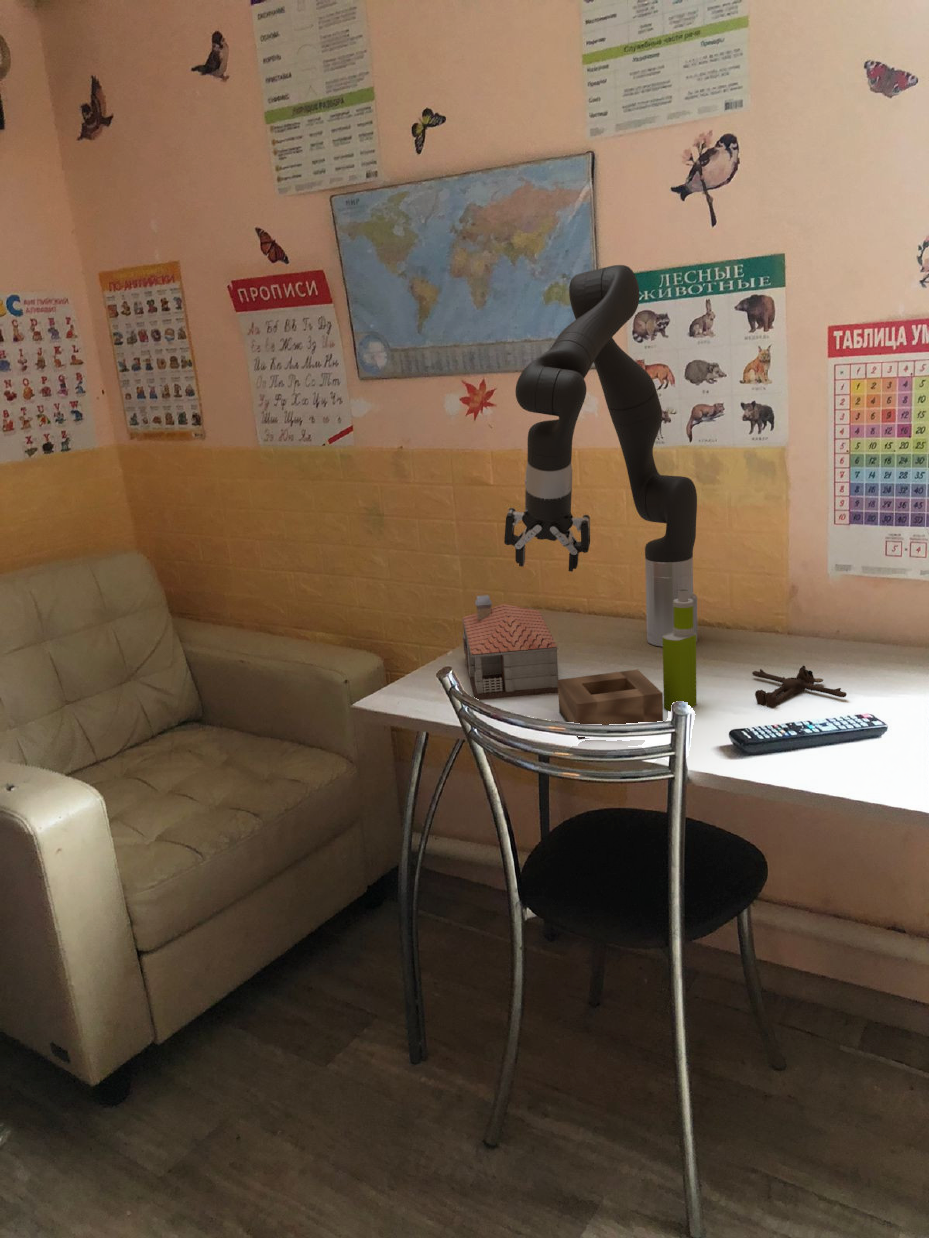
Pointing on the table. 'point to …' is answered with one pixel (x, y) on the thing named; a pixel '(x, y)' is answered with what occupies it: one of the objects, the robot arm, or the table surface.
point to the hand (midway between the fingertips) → (546, 566)
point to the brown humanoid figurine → (791, 687)
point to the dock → (610, 699)
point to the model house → (509, 652)
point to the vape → (680, 655)
